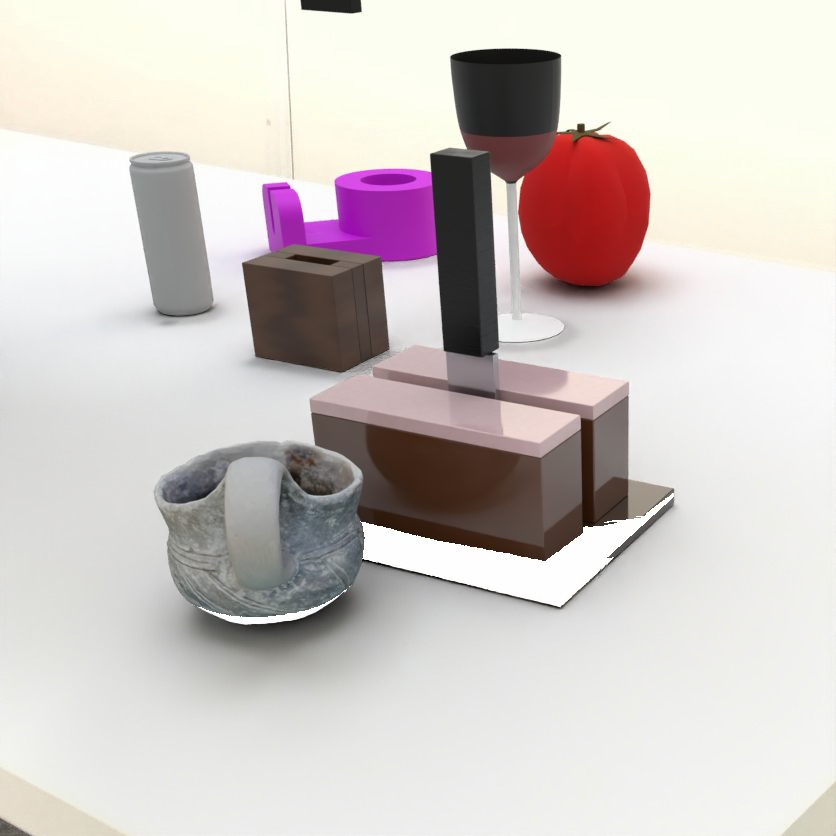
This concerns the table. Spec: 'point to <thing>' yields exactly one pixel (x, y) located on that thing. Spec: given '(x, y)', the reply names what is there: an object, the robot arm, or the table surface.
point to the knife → (466, 269)
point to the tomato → (585, 208)
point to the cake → (487, 454)
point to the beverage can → (171, 232)
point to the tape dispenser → (360, 215)
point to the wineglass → (510, 142)
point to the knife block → (317, 306)
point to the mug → (263, 527)
